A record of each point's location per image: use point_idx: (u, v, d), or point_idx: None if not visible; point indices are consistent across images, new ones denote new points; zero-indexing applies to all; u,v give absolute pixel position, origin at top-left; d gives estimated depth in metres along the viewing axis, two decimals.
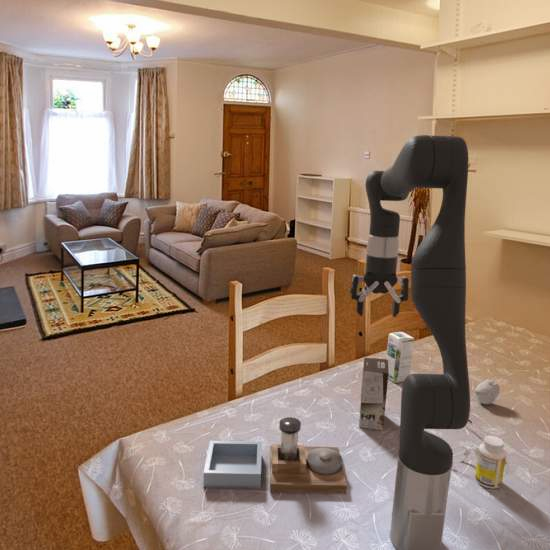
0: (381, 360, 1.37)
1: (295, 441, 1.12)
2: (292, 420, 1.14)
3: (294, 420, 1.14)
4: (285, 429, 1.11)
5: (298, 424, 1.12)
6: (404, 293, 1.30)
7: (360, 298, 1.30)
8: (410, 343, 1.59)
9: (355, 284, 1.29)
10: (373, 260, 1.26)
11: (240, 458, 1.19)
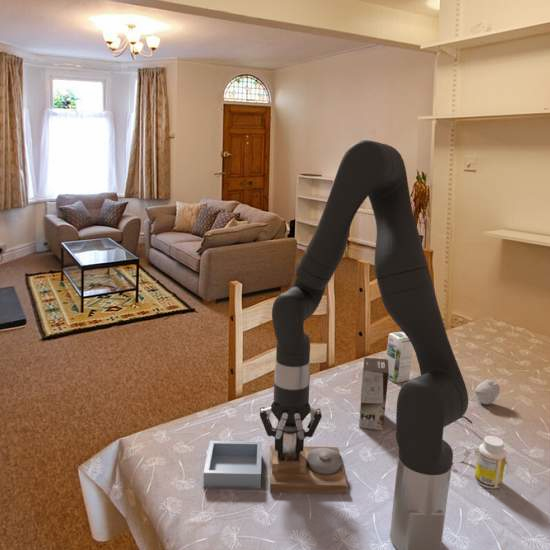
0: (381, 360, 1.37)
1: (295, 441, 1.12)
2: None
3: None
4: (285, 429, 1.11)
5: None
6: (311, 429, 1.12)
7: (277, 435, 1.12)
8: (410, 343, 1.59)
9: (264, 420, 1.11)
10: (279, 391, 1.08)
11: (240, 458, 1.19)
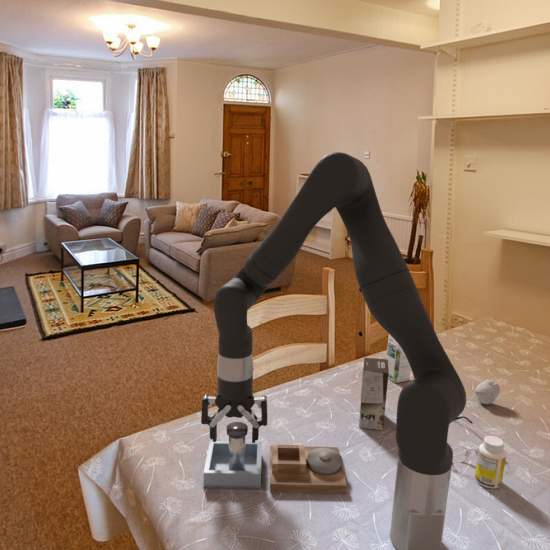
0: (381, 360, 1.37)
1: (241, 445, 1.12)
2: (239, 424, 1.14)
3: (242, 424, 1.14)
4: (231, 434, 1.11)
5: (245, 429, 1.12)
6: (262, 417, 1.11)
7: (211, 423, 1.11)
8: None
9: (204, 408, 1.10)
10: (221, 383, 1.07)
11: None
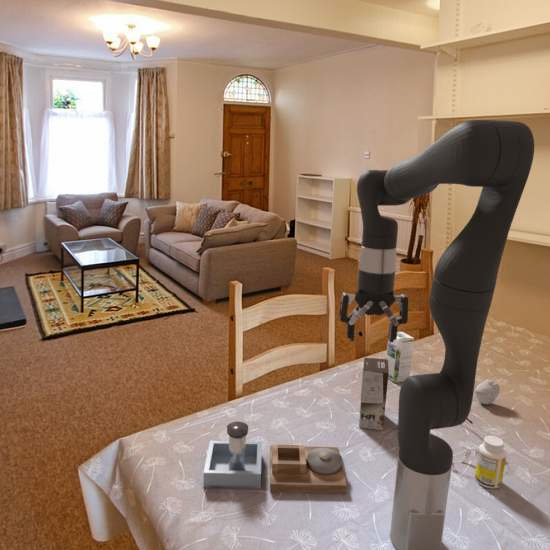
0: (381, 360, 1.37)
1: (242, 445, 1.12)
2: (240, 424, 1.14)
3: (242, 424, 1.14)
4: (232, 433, 1.11)
5: (245, 428, 1.12)
6: (403, 315, 1.10)
7: (351, 321, 1.10)
8: (410, 343, 1.59)
9: (345, 304, 1.09)
10: (366, 276, 1.06)
11: None
